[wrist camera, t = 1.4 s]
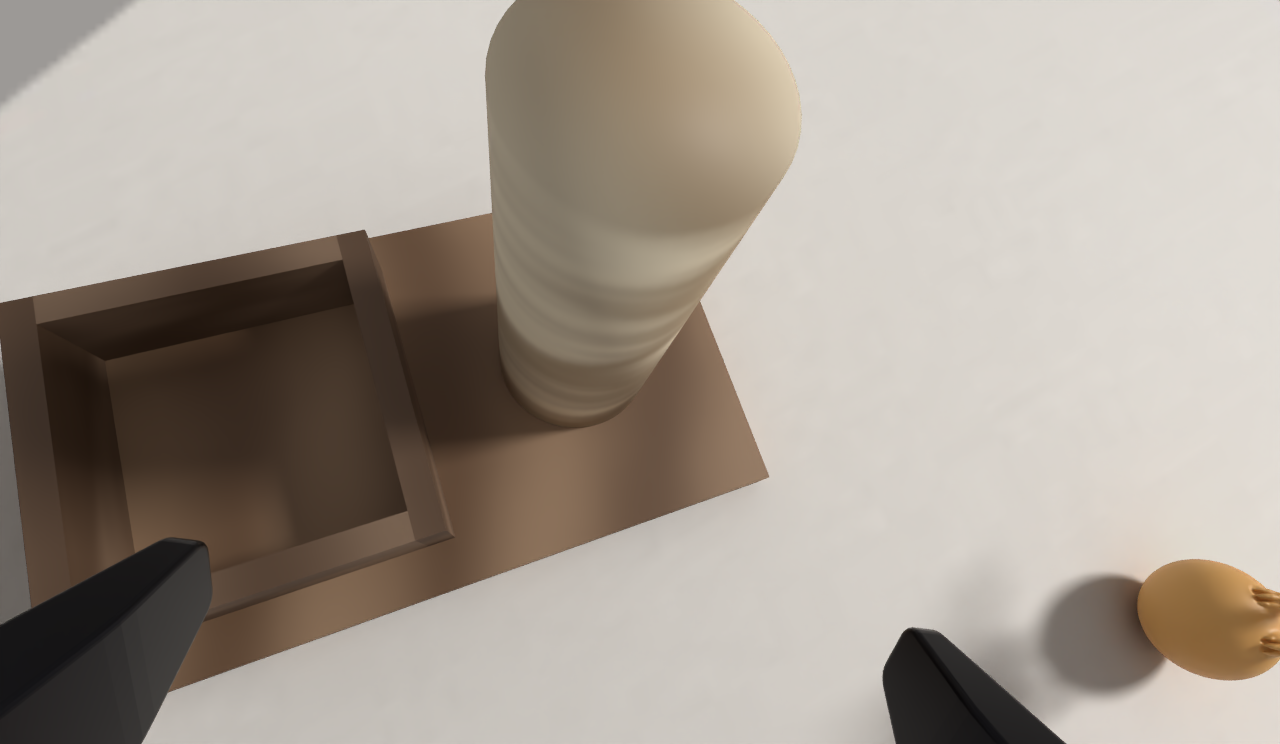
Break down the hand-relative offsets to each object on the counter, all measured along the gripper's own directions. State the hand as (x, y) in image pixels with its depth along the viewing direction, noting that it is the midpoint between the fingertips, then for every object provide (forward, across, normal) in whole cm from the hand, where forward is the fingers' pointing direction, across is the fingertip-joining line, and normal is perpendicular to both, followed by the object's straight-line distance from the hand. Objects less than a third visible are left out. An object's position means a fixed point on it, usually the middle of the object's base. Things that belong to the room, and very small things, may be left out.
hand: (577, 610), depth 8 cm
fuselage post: (+14, 0, +3) cm, 14 cm away
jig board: (+13, +4, +6) cm, 15 cm away
